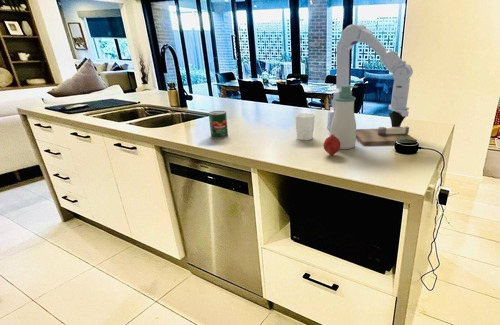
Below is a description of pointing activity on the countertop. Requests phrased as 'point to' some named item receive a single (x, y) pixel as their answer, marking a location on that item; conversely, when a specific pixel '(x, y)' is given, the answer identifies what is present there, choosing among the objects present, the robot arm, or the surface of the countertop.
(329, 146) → the onion
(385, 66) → the robot arm
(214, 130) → the canned tomato
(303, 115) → the white cup
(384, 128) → the dial lever
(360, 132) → the dial board
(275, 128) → the countertop surface
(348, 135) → the soap bottle
